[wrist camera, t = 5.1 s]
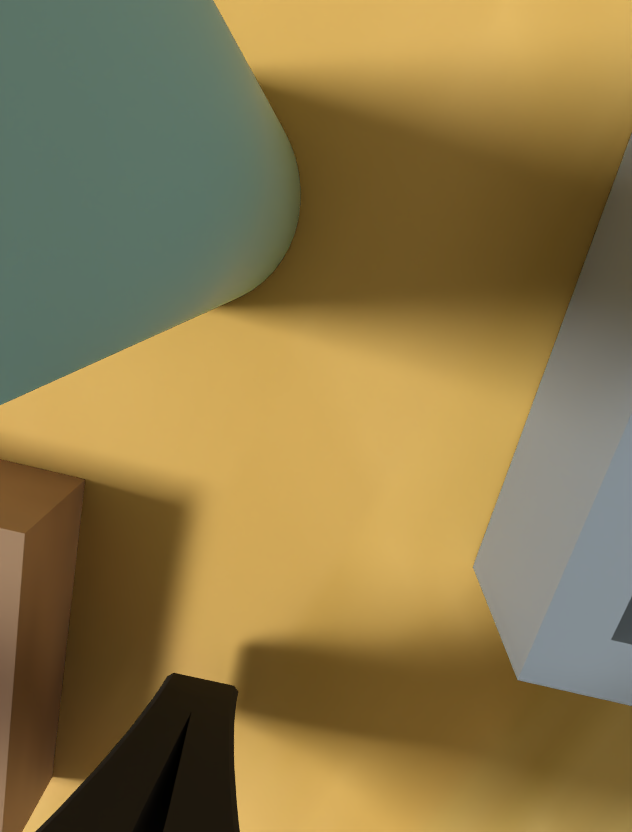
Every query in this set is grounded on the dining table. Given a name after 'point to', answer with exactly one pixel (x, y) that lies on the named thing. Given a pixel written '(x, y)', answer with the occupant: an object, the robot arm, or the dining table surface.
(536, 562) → the tray
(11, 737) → the tan cardboard box
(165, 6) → the dowel
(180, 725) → the robot arm
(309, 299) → the dining table surface
